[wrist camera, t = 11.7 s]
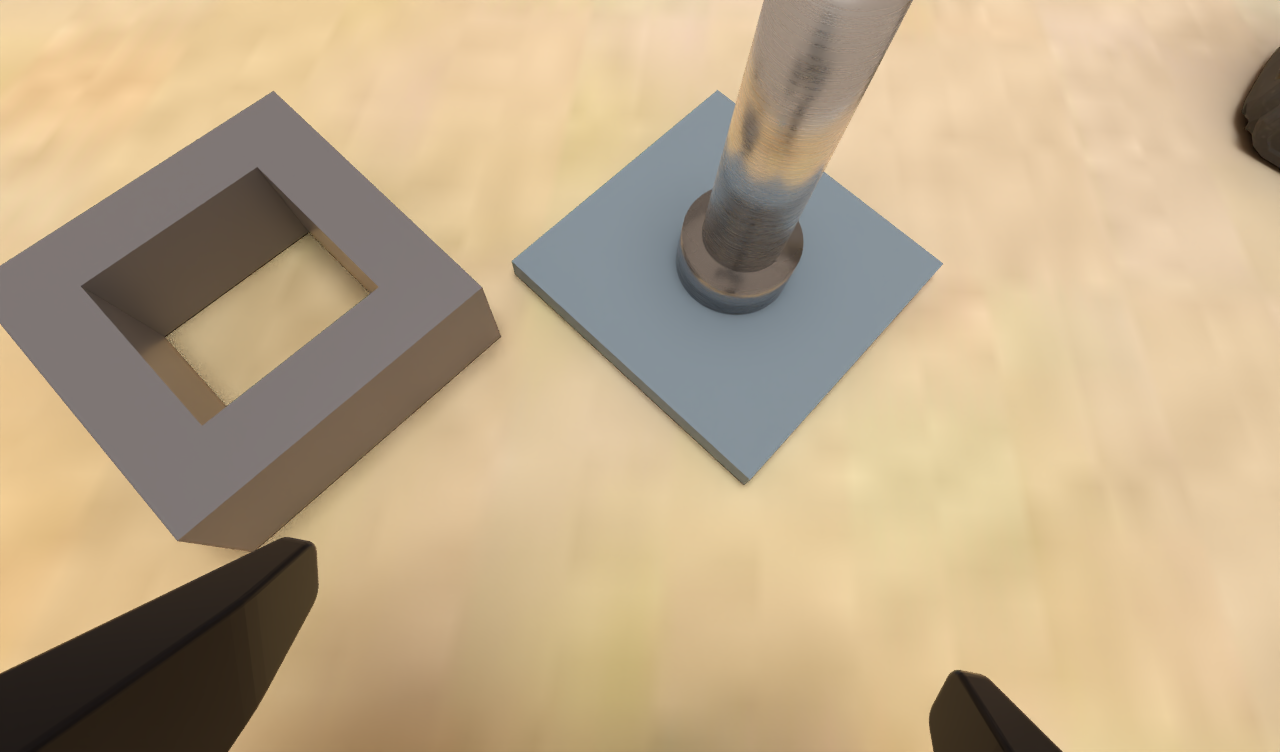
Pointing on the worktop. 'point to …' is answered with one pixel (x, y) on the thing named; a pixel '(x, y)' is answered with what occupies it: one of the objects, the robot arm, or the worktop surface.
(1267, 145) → the cordless drill
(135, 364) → the socket block
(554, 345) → the worktop surface
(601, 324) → the mat
